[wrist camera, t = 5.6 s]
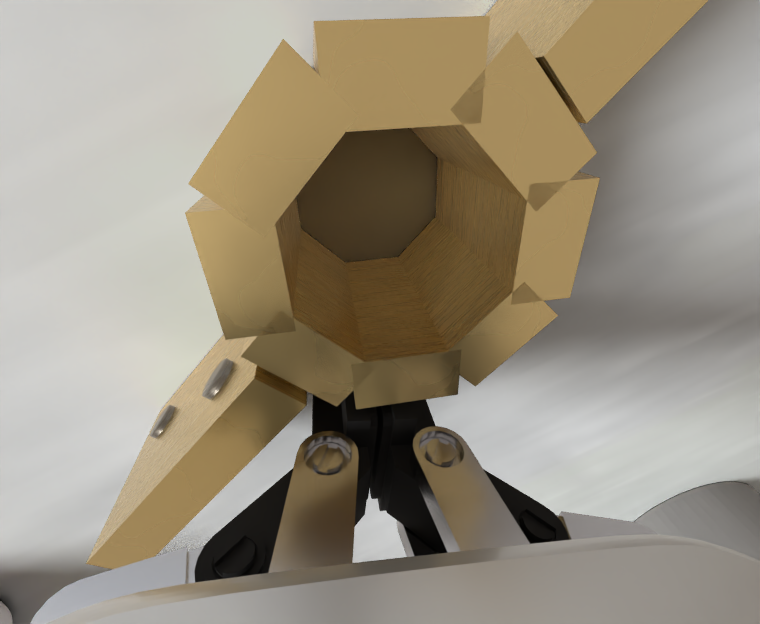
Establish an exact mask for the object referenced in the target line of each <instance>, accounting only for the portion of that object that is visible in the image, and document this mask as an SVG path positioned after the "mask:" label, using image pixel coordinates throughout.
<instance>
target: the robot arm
mask: <svg viewBox="0 0 760 624" xmlns="http://www.w3.org/2000/svg"><path fill="white" fill-rule="evenodd" d="M369 487H370V494H371V498H372V499H376V498H378V502H379V509H380V511H384V510H387V513H388V514H390V515H391V516H392V517H394V518H395V519H396V520H397V528H398V533H399V535H400V538H401V541H402V544H403V547H404V550H405V553H406V556H407V557H404V558H395V559H386V560H377V561H368V562H360V563H352V558H353V542H354V526H355V525H356V524H357V523H358V522H359V520H360V519H361V518H362V517H363V516H364V514H365V507H366V500H367V499H368V494H369ZM30 624H760V561H759V560H756V559H754V558H752V557H750V556H747V555H745V554H743V553H740V552H737V551H735V550H732V549H729V548H726V547H722V546H719V545H715V544H712V543H709V542H705V541H702V540H696V539H691V538H685V537H678V536H670V535H658V534H657V533H656V532H655V531H653V530H651V529H650V528H648V527H646V526H644V525H642V524H638V523H635V522H630V521H623V520H616V519H610V518H603V517H596V516H589V515H582V514H575V513H569V512H562V511H561V513H560V515H559V516H558V515H555V514H554V513H553V512H552V511H550V510H549V509H548V508H546V507H545V506H544V505H542V504H540V503H539V502H537V501H535V500H534V499H532V498H530V497H529V496H527V495H525V494H524V493H522V492H520V491H519V490H517V489H515V488H514V487H512V486H510V485H509V484H507V483H505V482H504V481H502V480H500V479H499V478H497V477H495V476H494V475H492V474H490V473H489V472H487V471H485V470H484V469H483V468H482V467H481V465H480V464H479V462H478V460H477V459H476V457H475V456H474V454H473V452H472V451H471V449H470V448H469V446H468V445H467V443H466V442H465V441H464V439H463V438H462V437H461V436H460V435H458V434H457V433H455V432H454V431H452V430H449V429H447V428H443V427H438V426H435V424H434V421H433V418H432V415H431V413H430V410H429V407H428V405H427V402H426V399H423V400H417V401H410V402H403V403H396V404H390V405H383V406H376V407H370V408H363V409H356V406H355V398H354V391H352V392H351V393H350V394H349V395H348V396H347V397H346V398H345V399H344V400H343V401H342V402H341V403H340V404H339V405H338V406H337V407H336V406H334V405H332V404H331V403H329V402H327V401H325V400H323V399H321V398H319V397H317V396H315V395H313V415H312V435H311V436H310V437H308V438H306V440H305V441H304V442H303V443H302V444H301V445H300V447H299V450H298V452H297V456H296V460H295V464H294V468H293V469H292V470H290V471H289V472H288V473H287V474H286V475H285V476H283V477H282V478H281V479H280V480H279V481H278V482H276V483H275V484H274V485H273V486H272V487H271V488H269V489H268V490H267V491H266V492H265V493H263V494H262V495H261V496H260V497H259V498H258V499H256V500H255V501H254V502H253V503H252V504H251V505H249V506H248V507H247V508H246V509H245V510H243V511H242V512H241V513H240V514H239V515H238V516H236V517H235V518H234V519H233V520H232V521H231V522H229V523H228V524H227V525H226V526H225V527H223V528H222V529H221V530H220V531H219V532H218V533H216V534H215V535H214V536H213V537H212V538H211V539H210V540H209V541H208V543H207V544H206V545H205V546H203V547H200V548H197V549H194V550H190V551H188V549H187V547H184V548H181V549H177V550H174V551H171V552H168V553H165V554H161V555H158V556H155V557H152V558H148V559H145V560H142V561H139V562H135V563H132V564H129V565H126V566H122V567H119V568H116V569H113V570H109V571H106V572H103V573H100V574H97V575H93V576H90V577H87V578H84V579H80V580H78V581H76V582H74V583H72V584H70V585H67V586H65V587H63V588H62V589H61V590H60V591H58V592H57V593H56V594H54V595H53V596H52V597H50V598H49V599H48V600H47V601H46V602H45V603H44V605H43V606H42V607H41V608H40V609H39V610H38V612H37V613H36V614H35V615H34V617H33V619H32V621H31V623H30Z"/></svg>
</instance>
